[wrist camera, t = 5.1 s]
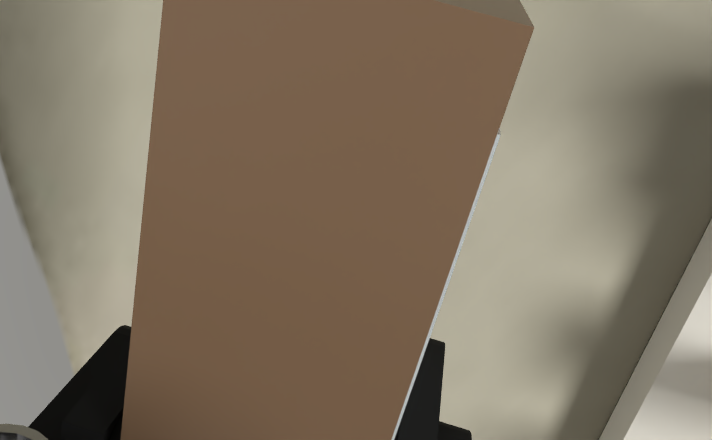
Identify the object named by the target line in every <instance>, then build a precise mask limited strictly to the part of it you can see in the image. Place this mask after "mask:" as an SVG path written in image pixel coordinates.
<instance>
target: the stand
mask: <svg viewBox="0 0 712 440" xmlns="http://www.w3.org/2000/svg"><path fill="white" fill-rule="evenodd" d="M599 440H712V219H711V221H710V223H709V225H708V227H707V229H706V231H705V233H704V235H703V237H702V239H701V241H700V243H699V245H698V247H697V249H696V250H695V252H694V254H693V256H692V258H691V260H690V262H689V264H688V266H687V268H686V270H685V272H684V274H683V276H682V278H681V280H680V282H679V284H678V286H677V288H676V290H675V292H674V294H673V296H672V297H671V299H670V301H669V303H668V305H667V307H666V309H665V311H664V313H663V315H662V317H661V319H660V321H659V323H658V325H657V327H656V329H655V331H654V333H653V335H652V337H651V339H650V341H649V343H648V344H647V346H646V348H645V350H644V352H643V354H642V356H641V358H640V360H639V362H638V364H637V366H636V368H635V370H634V372H633V374H632V376H631V378H630V380H629V382H628V384H627V386H626V388H625V389H624V391H623V393H622V395H621V397H620V399H619V401H618V403H617V405H616V407H615V409H614V411H613V413H612V415H611V417H610V419H609V421H608V423H607V425H606V427H605V429H604V431H603V433H602V435H601V436H600V438H599Z"/></svg>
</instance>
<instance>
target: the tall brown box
mask: <svg viewBox="0 0 712 440" xmlns="http://www.w3.org/2000/svg"><path fill="white" fill-rule="evenodd" d="M533 29H534V26H533V24H532V22H531V20H530V19H529V17H528V15H527V13H526V11H525V9H524V7H523V6H522V4H521V2H520V0H163V9H162V20H161V30H160V40H159V50H158V61H157V71H156V81H155V91H154V102H153V112H152V122H151V132H150V143H149V153H148V163H147V173H146V184H145V194H144V204H143V214H142V225H141V235H140V245H139V255H138V266H137V276H136V286H135V296H134V307H133V317H132V327H131V337H130V348H129V358H128V368H127V378H126V389H125V399H124V409H123V419H122V430H121V440H394V439H395V436H396V433H397V430H398V427H399V425H400V422H401V419H402V416H403V413H404V410H405V407H406V405H407V402H408V399H409V396H410V393H411V390H412V387H413V385H414V382H415V379H416V376H417V373H418V370H419V367H420V364H421V362H422V359H423V356H424V353H425V350H426V347H427V344H428V342H429V339H430V336H431V333H432V330H433V327H434V324H435V322H436V319H437V316H438V313H439V310H440V307H441V304H442V301H443V299H444V296H445V293H446V290H447V287H448V284H449V281H450V279H451V276H452V273H453V270H454V267H455V264H456V261H457V259H458V256H459V253H460V250H461V247H462V244H463V241H464V238H465V236H466V233H467V230H468V227H469V224H470V221H471V218H472V216H473V213H474V210H475V207H476V204H477V201H478V198H479V195H480V193H481V190H482V187H483V184H484V181H485V178H486V175H487V173H488V170H489V167H490V164H491V161H492V158H493V155H494V153H495V150H496V147H497V144H498V141H499V138H500V125H501V122H502V119H503V116H504V113H505V110H506V107H507V104H508V101H509V99H510V96H511V93H512V90H513V87H514V84H515V81H516V78H517V75H518V73H519V70H520V67H521V64H522V61H523V58H524V55H525V52H526V49H527V47H528V44H529V41H530V38H531V35H532V32H533Z"/></svg>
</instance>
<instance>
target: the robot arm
mask: <svg viewBox="0 0 712 440" xmlns="http://www.w3.org/2000/svg"><path fill="white" fill-rule="evenodd" d="M130 337H131V327H130V326H126V325H124V326H120V327H119V328H118V329H117V330H116V331H115V332H114V333H113V334H112V335H111V336H110V337H109V338H108V339H107V340H106V342H105V343H104V344H103V345H102V346H101V347H100V348H99V349H98V350H97V352H96V353H95V354H94V355H93V356H92V357H91V358H90V359H89V360H88V361H87V363H86V364H85V365H84V366H83V367H82V368H81V369H80V370H79V371H78V373H77V374H76V375H75V376H74V377H73V378H72V379H71V380H70V381H69V383H68V384H67V385H66V386H65V387H64V388H63V389H62V390H61V391H60V392H59V394H58V395H57V396H56V397H55V398H54V399H53V400H52V401H51V402H50V404H49V405H48V406H47V407H46V408H45V409H44V410H43V411H42V412H41V413H40V415H39V416H38V417H37V418H36V419H35V420H34V421H33V422H32V423H31V425H30V426H29V427H26V426H22V425H13V424H0V440H121V430H122V419H123V409H124V399H125V389H126V378H127V368H128V358H129V348H130ZM444 354H445V343H444V342H441V341H438V340H434V339H431V338H430V339H429V342H428V344H427V347H426V350H425V353H424V356H423V359H422V362H421V364H420V367H419V370H418V373H417V376H416V379H415V382H414V385H413V387H412V390H411V393H410V396H409V399H408V402H407V405H406V407H405V410H404V413H403V416H402V419H401V422H400V425H399V427H398V430H397V433H396V436H395V439H394V440H472V438H471V432H470V431H469V430H466V429H462V428H459V427H456V426H453V425H449V424H446V423H443V422H440V421H439V414H440V402H441V390H442V378H443V366H444Z"/></svg>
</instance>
